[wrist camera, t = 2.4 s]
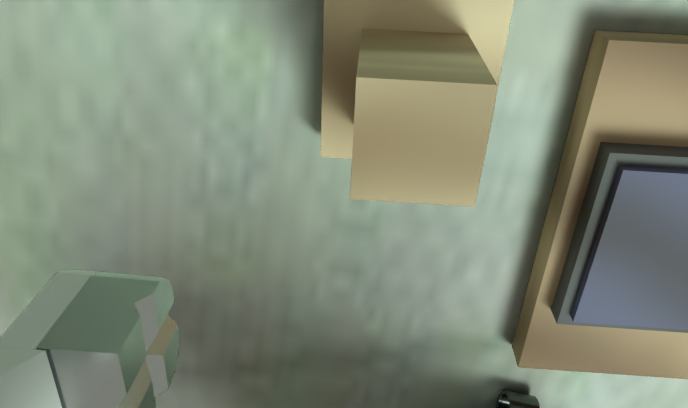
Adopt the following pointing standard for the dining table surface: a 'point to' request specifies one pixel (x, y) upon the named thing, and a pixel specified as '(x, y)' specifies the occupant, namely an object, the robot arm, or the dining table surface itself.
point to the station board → (617, 220)
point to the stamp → (412, 94)
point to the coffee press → (516, 400)
